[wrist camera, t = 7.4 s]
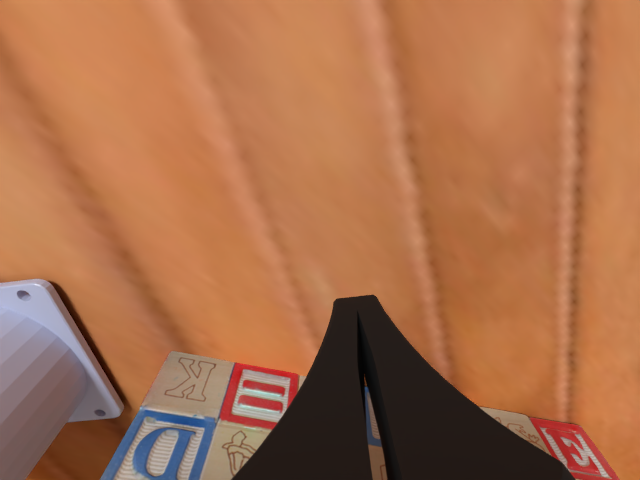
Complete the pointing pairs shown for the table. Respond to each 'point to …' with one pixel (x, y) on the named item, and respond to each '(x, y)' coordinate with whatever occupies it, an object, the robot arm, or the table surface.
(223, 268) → the table surface
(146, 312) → the table surface
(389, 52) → the table surface
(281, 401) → the stack of blocks
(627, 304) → the table surface
